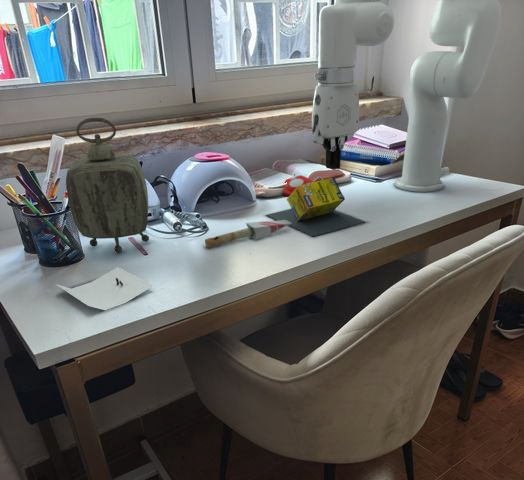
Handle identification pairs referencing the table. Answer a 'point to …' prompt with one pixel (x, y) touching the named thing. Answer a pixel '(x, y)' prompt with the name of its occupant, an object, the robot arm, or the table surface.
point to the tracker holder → (296, 183)
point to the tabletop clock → (107, 192)
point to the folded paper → (109, 289)
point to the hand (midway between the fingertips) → (332, 168)
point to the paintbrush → (248, 232)
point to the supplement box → (315, 199)
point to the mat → (317, 222)
